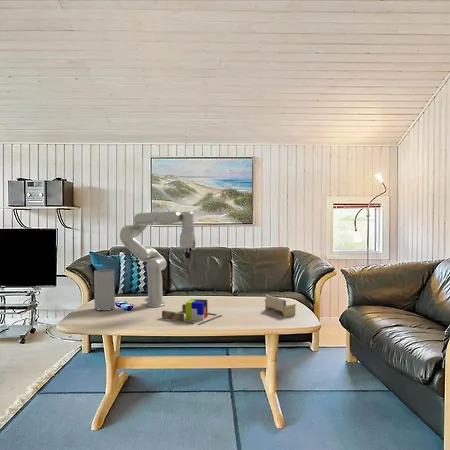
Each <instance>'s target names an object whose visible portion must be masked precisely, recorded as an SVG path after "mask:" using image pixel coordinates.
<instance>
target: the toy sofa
mask: <svg viewBox="0 0 450 450" xmlns="http://www.w3.org/2000/svg"><path fill="white" fill-rule="evenodd" d="M264 302H265V303H264V305H265V308H264V309H265V310H266V311H267V310H268V311H269V310H276V311H280V312H281V314H283V317H290V316H291V317H292V316H295V315H296V306H297V304H296V303H292V304H287V301H286V299H281V298H279V297H275V296H272V295H270V294H268V293H267V294H265V298H264Z"/></svg>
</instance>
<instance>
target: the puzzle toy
mask: <svg viewBox="0 0 450 450" xmlns="http://www.w3.org/2000/svg"><path fill="white" fill-rule="evenodd" d="M185 304H186V312H185V319H186V320H185V321H201V322H204V320H205V319H206V318H207V317H209V314H208V313H209V312H208V299H201V298H200V299H197V298H191V299H190V300H187V301H186V302H185Z"/></svg>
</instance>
